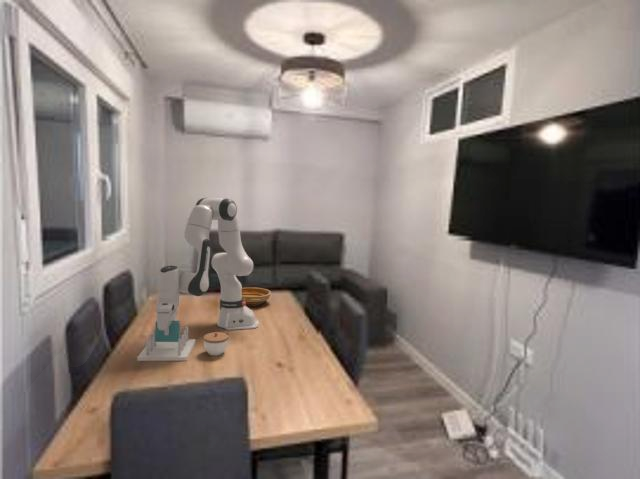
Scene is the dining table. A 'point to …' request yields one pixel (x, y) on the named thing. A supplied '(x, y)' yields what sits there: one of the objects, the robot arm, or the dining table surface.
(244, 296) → the brown woven oval bowl
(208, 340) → the lidded jar
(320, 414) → the dining table surface
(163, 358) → the dish rack
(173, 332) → the teal tile
